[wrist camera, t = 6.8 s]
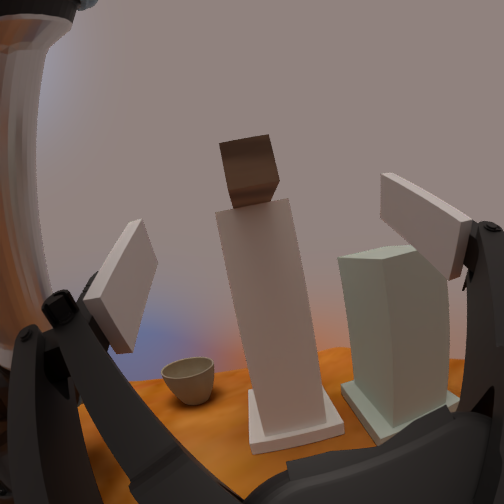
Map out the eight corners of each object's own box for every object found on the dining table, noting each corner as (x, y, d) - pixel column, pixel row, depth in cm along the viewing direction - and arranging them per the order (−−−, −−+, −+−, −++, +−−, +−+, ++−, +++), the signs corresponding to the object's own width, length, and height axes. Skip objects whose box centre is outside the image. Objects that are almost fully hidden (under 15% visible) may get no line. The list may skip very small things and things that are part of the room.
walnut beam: (279, 180, 21) (268, 134, 21) (228, 190, 21) (219, 143, 21) (262, 218, 45) (257, 194, 45) (237, 223, 45) (232, 199, 45)
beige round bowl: (164, 412, 43) (152, 378, 43) (180, 389, 53) (171, 359, 53) (216, 411, 43) (206, 375, 43) (226, 385, 53) (218, 354, 53)
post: (459, 411, 24) (459, 239, 24) (380, 450, 24) (367, 264, 24) (405, 371, 40) (393, 244, 40) (341, 394, 40) (322, 260, 40)
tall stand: (344, 433, 29) (307, 193, 29) (252, 454, 29) (195, 215, 29) (317, 384, 45) (286, 213, 45) (250, 399, 45) (213, 228, 45)
